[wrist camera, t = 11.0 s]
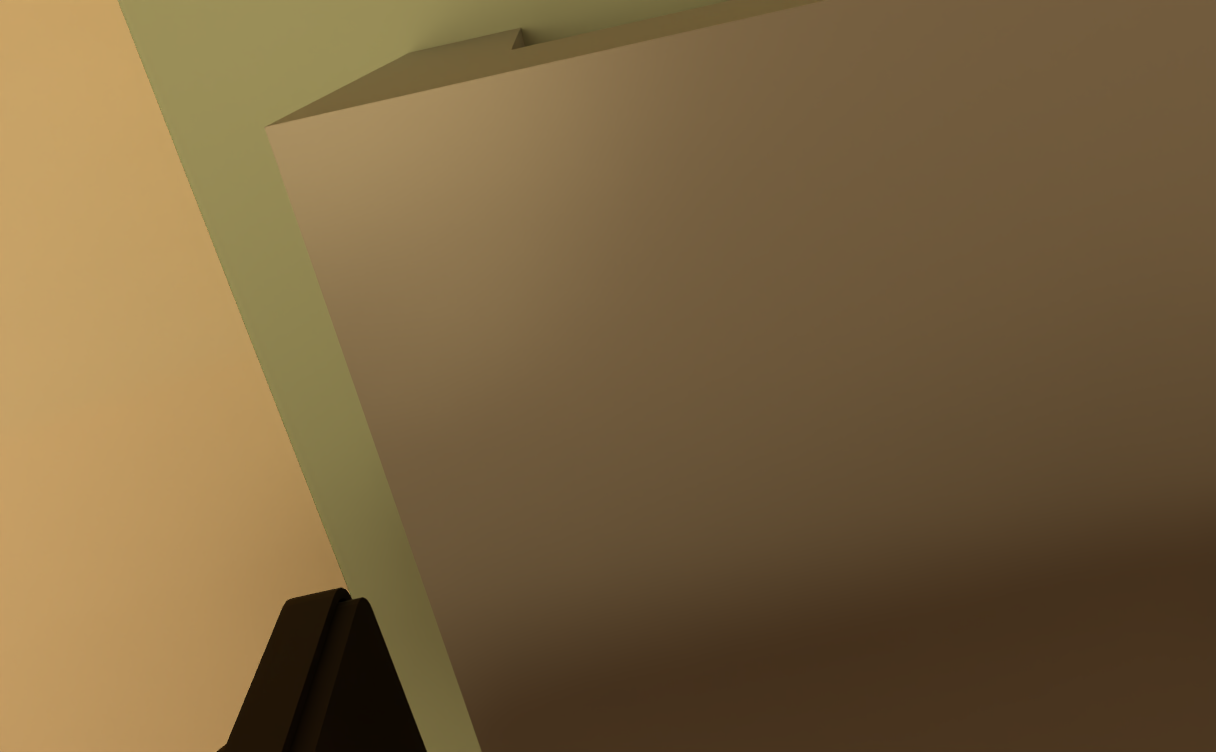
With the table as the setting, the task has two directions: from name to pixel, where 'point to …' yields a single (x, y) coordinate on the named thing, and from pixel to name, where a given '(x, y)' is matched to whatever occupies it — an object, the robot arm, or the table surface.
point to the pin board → (281, 267)
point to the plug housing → (795, 370)
